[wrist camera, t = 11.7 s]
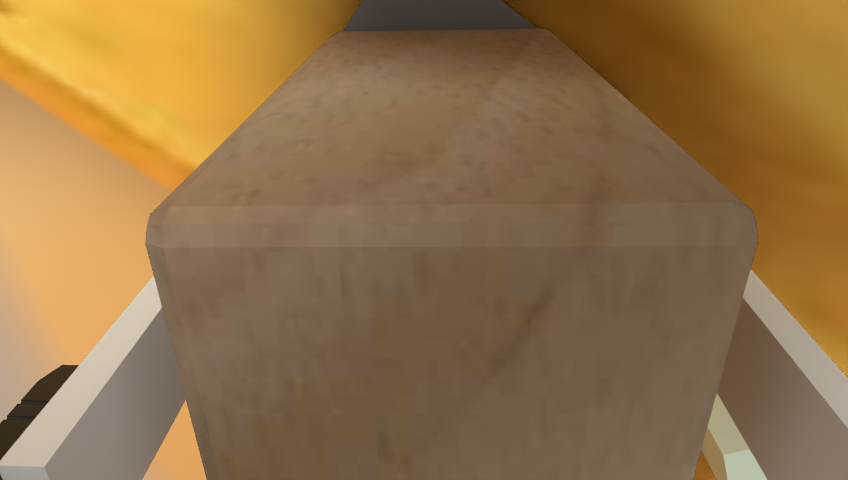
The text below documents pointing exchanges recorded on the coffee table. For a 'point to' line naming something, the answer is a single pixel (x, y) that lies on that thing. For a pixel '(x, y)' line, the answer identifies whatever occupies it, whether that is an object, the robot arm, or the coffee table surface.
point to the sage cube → (728, 448)
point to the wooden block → (450, 272)
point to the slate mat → (435, 15)
